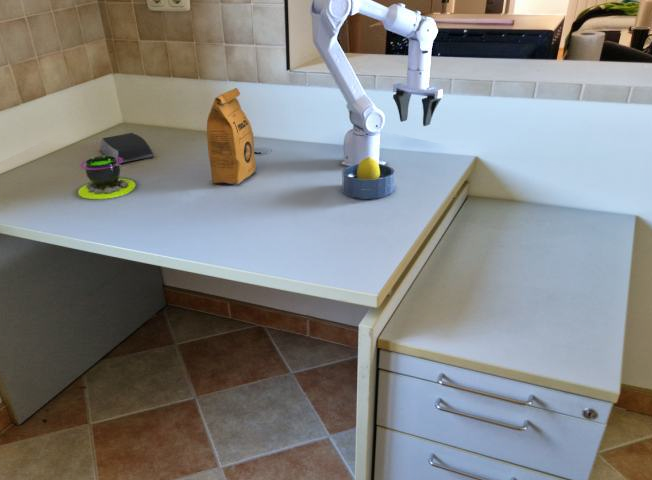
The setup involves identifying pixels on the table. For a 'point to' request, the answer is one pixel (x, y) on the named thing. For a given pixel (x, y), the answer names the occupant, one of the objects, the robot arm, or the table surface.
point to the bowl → (367, 183)
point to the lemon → (368, 169)
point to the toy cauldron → (104, 178)
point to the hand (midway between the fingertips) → (414, 122)
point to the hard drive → (126, 147)
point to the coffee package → (229, 140)
